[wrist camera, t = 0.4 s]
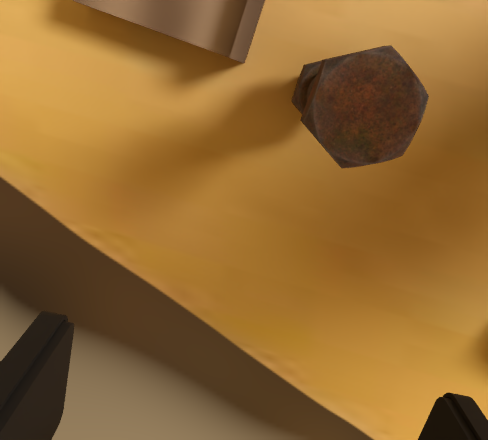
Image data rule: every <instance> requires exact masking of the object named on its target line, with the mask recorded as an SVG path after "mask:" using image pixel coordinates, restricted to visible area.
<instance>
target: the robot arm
mask: <svg viewBox="0 0 488 440" xmlns="http://www.w3.org/2000/svg"><path fill="white" fill-rule="evenodd" d="M73 333H74V324H73V323H70V322H68V319H67V316H66V315H62V314H57V313H51V312H46V311H42V312H41V313H40V314H39V315H38V317H37V318H36V319H35V320H34V322H33V323H32V324H31V325H30V327H29V328H28V329H27V330H26V332H25V333H24V334H23V335H22V336H21V338H20V339H19V340H18V341H17V343H16V344H15V345H14V346H13V348H12V349H11V350H10V351H9V352H8V354H7V355H6V356H5V358H4V359H3V360H2V361H0V440H51V439H52V437H53V435H54V433H55V431H56V429H57V427H58V425H59V423H60V420H61V417H62V413H63V409H64V401H65V394H66V386H67V378H68V371H69V363H70V355H71V347H72V340H73ZM418 440H488V420H487V419H486V417H485V416H484V414H483V413H482V411H481V410H480V408H479V407H478V405H477V404H476V403H475V401H474V400H473V399H472V398H471V397H468V396H463V395H458V394H453V393H446V394H445V395H444V396H443V397H439V398H438V399H437V400H436V402H435V404H434V406H433V408H432V410H431V412H430V415H429V417H428V419H427V421H426V423H425V425H424V427H423V430H422V432H421V434H420V436H419V438H418Z"/></svg>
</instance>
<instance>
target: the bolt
mask: <svg viewBox="0 0 488 440" xmlns="http://www.w3.org/2000/svg"><path fill="white" fill-rule="evenodd" d="M428 97H429V96H428V94H427V92H426V90H425V88H424V86H423V85H422V83H421V82H420V80H419V79H418V77H417V76H416V75H415V73H414V72H413V71H412V69H411V68H410V67H409V66H408V64H407V63H406V62H405V61H404V59H403V58H402V57H401V56H400V55H399V53H398V52H397V51H396V50H395V49H394V48H393V47H392V46H382V47H378V48H373V49H369V50H365V51H360V52H356V53H351V54H347V55H342V56H338V57H334V58H329V59H325V60H322V61H318V62H314V63H310V64H306V65H304V66H303V69H302V71H301V74H300V77H299V79H298V82H297V85H296V88H295V91H294V94H293V98H292V103H293V104H294V105H295V106H296V108H297V109H298V110H299V111H300V112H301V113H302V117H301V121H302V123H303V124H304V125H305V126H306V127H307V128H308V130H309V131H310V132H311V133H312V134H313V136H314V137H315V138H316V139H317V140H318V141H319V143H320V144H321V145H322V146H323V147H324V148H325V150H326V151H327V152H328V153H329V154H330V155H331V157H332V158H333V159H334V160H335V161H336V163H337V164H338V165H339V166H340V167H341V168H351V167H359V166H364V165H370V164H375V163H381V162H385V161H388V160H392V159H395V158H397V157H400V156H402V155H403V154H404V152H405V151H406V149H407V148H408V146H409V145H410V143H411V141H412V139H413V137H414V135H415V133H416V131H417V129H418V127H419V124H420V122H421V120H422V117H423V114H424V111H425V108H426V104H427V101H428Z"/></svg>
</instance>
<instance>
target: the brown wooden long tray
mask: <svg viewBox="0 0 488 440" xmlns="http://www.w3.org/2000/svg"><path fill="white" fill-rule="evenodd" d="M73 1H75V2H78V3H81V4H83V5H86V6H89V7H92V8H94V9H97V10H100V11H103V12H105V13H108V14H111V15H114V16H116V17H119V18H122V19H125V20H127V21H130V22H133V23H136V24H138V25H141V26H144V27H147V28H149V29H152V30H155V31H158V32H160V33H163V34H166V35H169V36H171V37H174V38H177V39H180V40H182V41H185V42H188V43H191V44H193V45H196V46H199V47H201V48H204V49H207V50H210V51H212V52H215V53H218V54H221V55H223V56H226V57H229V58H231V59H234V60H236V61H239V62H242V63H245V60H246V57H247V54H248V51H249V48H250V45H251V42H252V39H253V36H254V33H255V29H256V26H257V23H258V20H259V17H260V14H261V11H262V8H263V5H264V2H265V0H73Z"/></svg>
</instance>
